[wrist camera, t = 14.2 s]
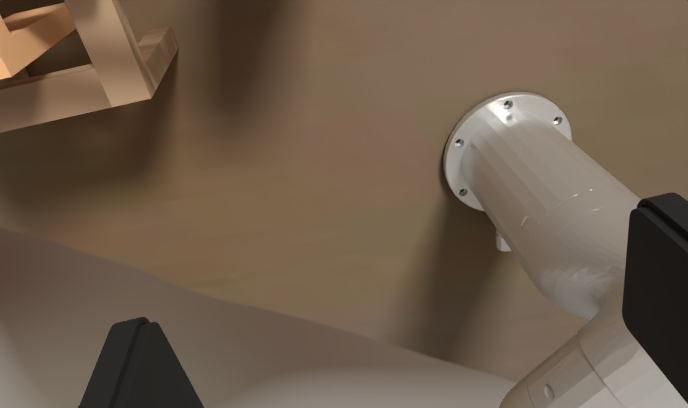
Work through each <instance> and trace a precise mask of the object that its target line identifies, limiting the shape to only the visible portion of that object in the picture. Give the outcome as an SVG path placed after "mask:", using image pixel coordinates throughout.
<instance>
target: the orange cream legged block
mask: <svg viewBox="0 0 688 408" xmlns="http://www.w3.org/2000/svg"><path fill="white" fill-rule="evenodd" d="M75 29H76V26H75V24H74V22H73V20H72V17H71V15H70V13H69V11H68V8H67V6H66V4H65V2H64V3H60V4H55V5H51V6H46V7H42V8H37V9H33V10H28V11H24V12H20V13H15V14H13V15H11V16H9V17H7V18H5V19H2V17H1V15H0V79H5V78H9V77H12V76H14V75H15V74H16V73H18V72H19V71H20V70H22V69H23V68H24V67H26V66H27V65H28V64H30V63H31V62H32V61H34V60H35V59H36V58H37V57H39V56H40V55H41V54H43V53H44V52H45V51H47V50H48V49H49V48H51V47H52V46H53V45H55V44H56V43H57V42H59V41H60V40H61V39H63V38H64V37H65V36H67V35H68V34H69V33H71V32H72V31H73V30H75Z"/></svg>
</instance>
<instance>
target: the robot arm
mask: <svg viewBox="0 0 688 408" xmlns="http://www.w3.org/2000/svg"><path fill="white" fill-rule="evenodd" d="M506 101H507V102H506ZM505 102H506V103H505ZM504 103H505V104H504ZM458 139H459V140H458ZM457 140H458V141H457ZM443 168H444V173H445V178H446V180H447V182H448V184H449V187H450V188H451V190H452V191H453V193H454V194H455V196H456V197H458V198H459V199H460V200H461V201H462V202H463V203H465V204H466V205H468V206H469V207H471V208H474V209H477V210H480V211H485V212H486V214H487V215H488V217H489V218H490V219H491V221H492V222H493V224H494V225H495V227H496V247H497V249H499V250H501V251H505V252H506V251H512V252H513V254H514V255H515V257H516V258H517V260H518V261H519V263H520V264H521V266H522V267H523V269H524V270H525V272H526V273H527V274H528V276H529V277H530V279H531V280H532V282H533V283H534V285H535V286H536V287H537V289H538V290H539V291H540V292H541V294H542V295H543V296H544V297H545V298H547V299H548V300H549V301H550V302H551V303H553V304H554V305H556V306H558V307H559V308H561V309H563V310H564V311H567V312H569V313H571V314H574V315H577V316H580V317H583V318H586V319H590V321H589V322H588V323H587V324H586V325H585V326H584V327H582V328H581V329H580V330H579V331H578V333H577V334H576V335H575V336H573V337H572V338H571V339H570V340H569V341H567V342H566V343H565V344H564V345H563V346H561V347H560V348H559V349H558V350H556V351H555V352H554V353H553V354H552V355H550V356H549V357H548V358H547V359H546V360H544V361H543V362H542V363H541V364H540V365H538V366H537V367H536V368H535V369H534V370H532V371H531V372H530V373H529V374H528V375H527V376H525V377H524V378H523V379H522V380H521V381H520V382H518V383H517V384H516V385H515V386H514V387H513V388H512V389H511V390H510V391H509V392H508V393H507V395H506V396H505V398H504V399H503V401H502V402H501V404H500V407H499V408H688V201H686V200H685V199H684V198H682V197H681V196H680V195H678V194H676V193H667V194H663V195H658V196H654V197H650V198H646V199H642V200H641V199H640V198H638V197H637V196H636V195H635V194H634V193H632V192H631V191H630V190H629V189H628V188H626V187H625V186H624V185H623V184H622V183H620V182H619V181H618V180H617V179H616V178H614V177H613V176H612V175H611V174H610V173H608V172H607V171H606V170H605V169H604V168H602V167H601V166H600V165H599V164H598V163H597V162H595V161H594V160H593V159H592V158H591V157H589V156H588V155H587V154H586V153H585V152H583V151H582V150H581V149H580V148H579V147H577V146H576V145H575V144H574V143H573V142H572V134H571V129H570V125H569V122H568V120H567V118H566V117H565V115H564V113H563V112H562V111H561V110H560V109H559V108H558V107H557V106H556V105H555V104H554V103H552V102H551V101H549V100H548V99H546V98H544V97H542V96H540V95H538V94H533V93H529V92H510V93H505V94H500V95H497V96H495V97H492V98H489V99H487V100H485V101H484V102H482V103H480V104H478V105H477V106H476V107H474V108H473V109H472V110H471V111H469V112H468V113H467V114H466V115H465V116H464V117H463V118H462V119H461V120H460V121H459V123H458V124H457V125H456V127H455V128H454V130H453V131H452V133H451V135H450V137H449V139H448V142H447V144H446V147H445V152H444V157H443ZM78 408H204V407H203V405H202V403H201V401H200V399H199V397H198V396H197V394H196V392H195V390H194V388H193V386H192V384H191V383H190V381H189V379H188V377H187V375H186V373H185V371H184V370H183V368H182V366H181V364H180V362H179V360H178V359H177V357H176V355H175V353H174V351H173V349H172V347H171V346H170V344H169V342H168V340H167V338H166V337H165V334H164V333H163V331H162V329H161V327H160V326H159V324H158V323H156V322H152V323H150V322H149V321H148V319H147V318H145V317H141V318H136V319H132V320H128V321H123V322H119V323H115V324H114V325H112V327H111V329H110V331H109V333H108V336H107V338H106V341H105V344H104V346H103V348H102V351H101V353H100V356H99V358H98V361H97V363H96V366H95V369H94V371H93V373H92V376H91V378H90V381H89V383H88V386H87V388H86V391H85V393H84V396H83V398H82V401H81V403H80V405H79V406H78Z"/></svg>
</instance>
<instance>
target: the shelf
mask: <svg viewBox="0 0 688 408" xmlns="http://www.w3.org/2000/svg"><path fill="white" fill-rule="evenodd" d="M64 2H65V4H66V6H67V8H68V11H69V13H70V15H71V17H72V20H73V22H74V24H75V26H76V28H77V31H78V33H79V35H80V37H81V39H82V42H83V44H84V46H85V48H86V51H87V53H88V55H89V57H90V59H91V62H92V64H88V65H83V66H79V67H74V68H70V69H66V70H61V71H57V72H52V73H48V74H43V75H39V76H35V77H30V76H29V74H28V72H27V70H26V68H25V67H24V68H23V69H22V70H20V71H19V72H18V73H16V74H15V75H14V76H12V77H9V78H5V79H0V133H1V132H5V131H10V130H14V129H19V128H23V127H27V126H32V125H36V124H41V123H45V122H49V121H54V120H58V119H63V118H67V117H72V116H76V115H80V114H85V113H89V112H94V111H98V110H102V109H107V108H111V107H116V106H120V105H125V104H129V103H133V102H138V101H142V100H147V99H151V98H152V96H153V95H154V93H155V91H156V89H157V87H158V85H159V83H160V82H161V80H162V78H163V76H164V74H165V72H166V70H167V69H168V67H169V65H170V63H171V61H172V59H173V57H174V56H175V54H176V52H177V50H178V45H177V42H176V39H175V36H174V34H173V31H172V28H171V26H167V27H163V28H158V29H154V30H150V31H148V32H147V33H146V35H145V36H144V37H143V38H142V40H141V41H140V42H139V43H138V44H137V42H136V40H135V37H134V34H133V32H132V29H131V27H130V24H129V22H128V19H127V17H126V14H125V12H124V9H123V7H122V4H121V2H120V0H64Z"/></svg>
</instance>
